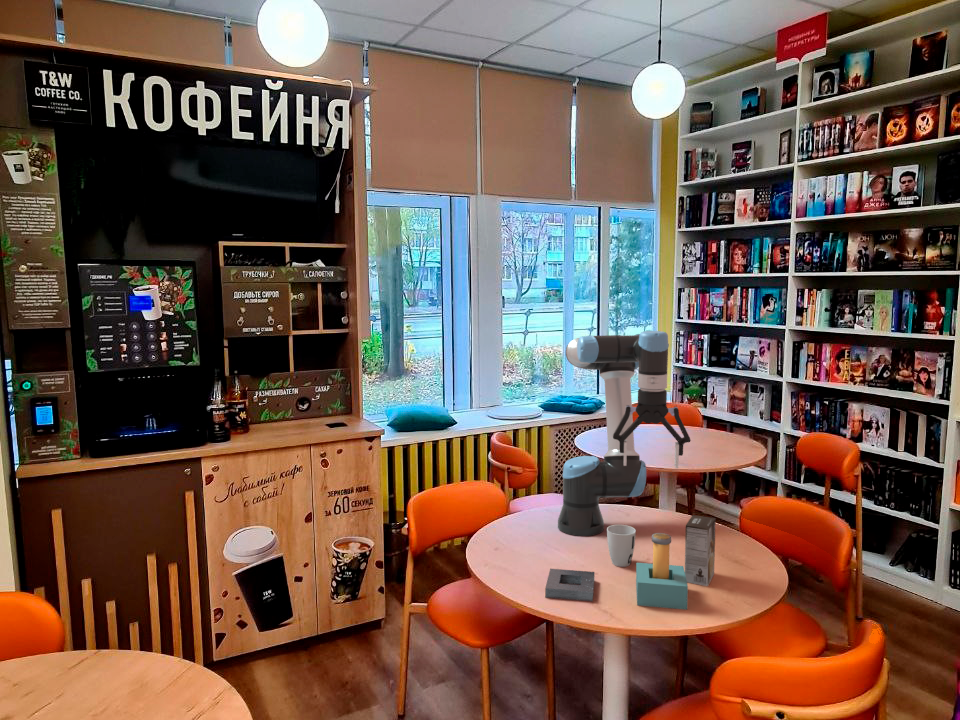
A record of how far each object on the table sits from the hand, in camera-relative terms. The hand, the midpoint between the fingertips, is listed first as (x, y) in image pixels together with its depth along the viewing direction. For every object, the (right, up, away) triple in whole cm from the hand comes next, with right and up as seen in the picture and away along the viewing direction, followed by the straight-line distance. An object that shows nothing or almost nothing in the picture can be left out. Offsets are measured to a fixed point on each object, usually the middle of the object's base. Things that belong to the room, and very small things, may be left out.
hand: (650, 465), depth 178 cm
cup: (-6, -30, +10) cm, 32 cm away
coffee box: (+13, -31, 0) cm, 34 cm away
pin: (0, -32, -10) cm, 34 cm away
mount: (-23, -32, -5) cm, 39 cm away
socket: (0, -32, -10) cm, 34 cm away
